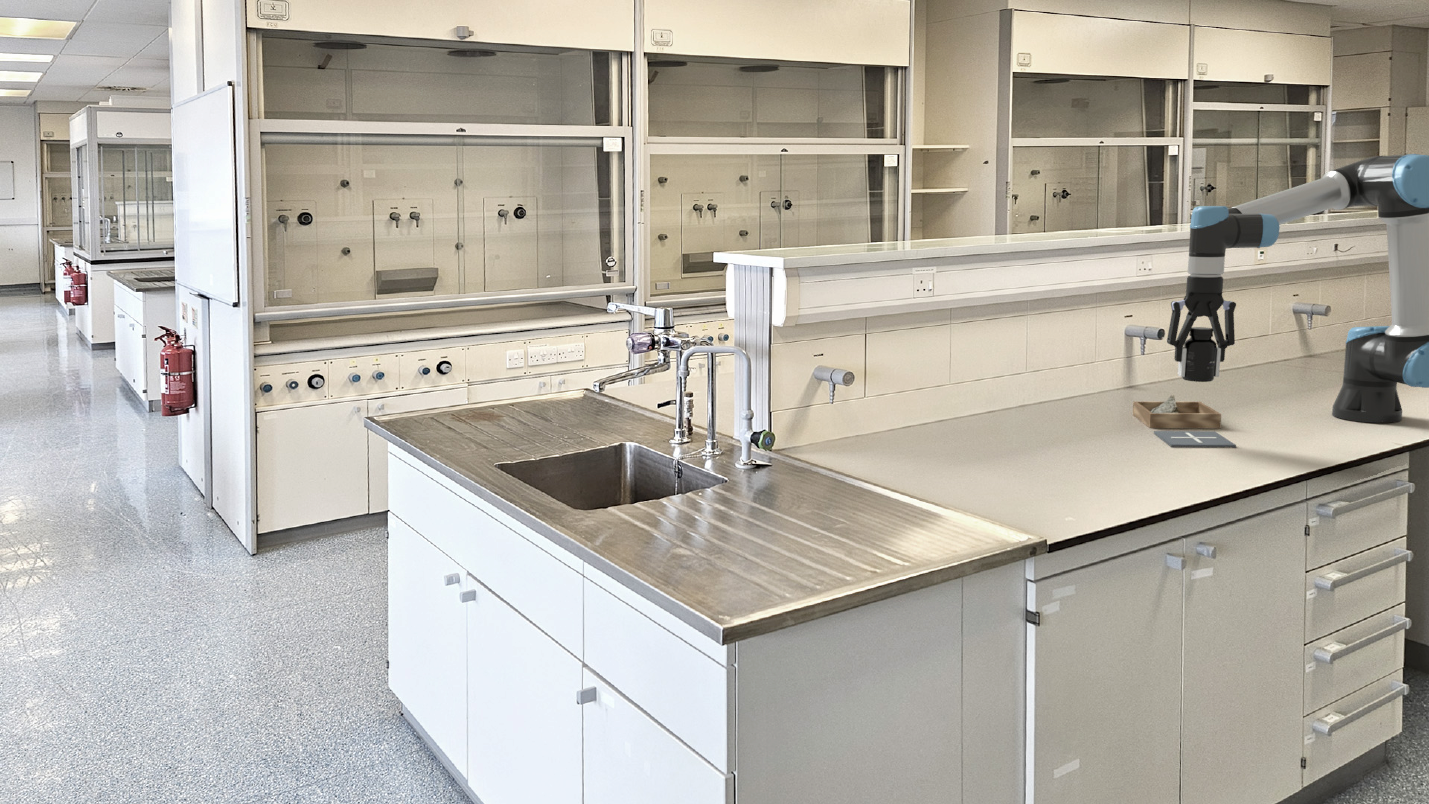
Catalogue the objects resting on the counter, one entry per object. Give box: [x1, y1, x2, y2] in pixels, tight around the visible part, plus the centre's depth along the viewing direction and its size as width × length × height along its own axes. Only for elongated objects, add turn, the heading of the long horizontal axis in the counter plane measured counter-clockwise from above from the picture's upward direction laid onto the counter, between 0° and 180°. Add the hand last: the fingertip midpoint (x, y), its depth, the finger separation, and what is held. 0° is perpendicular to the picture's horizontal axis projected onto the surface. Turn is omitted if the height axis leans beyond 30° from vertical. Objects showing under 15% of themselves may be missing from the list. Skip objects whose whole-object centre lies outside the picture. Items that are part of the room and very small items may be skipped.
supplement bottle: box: [1181, 326, 1218, 383], centre depth 251 cm, size 7×7×12 cm
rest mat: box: [1153, 430, 1237, 449], centre depth 255 cm, size 14×14×1 cm
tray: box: [1132, 401, 1222, 429], centre depth 275 cm, size 17×16×4 cm
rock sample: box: [1150, 394, 1179, 413], centre depth 277 cm, size 10×8×9 cm
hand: (1198, 375), depth 252 cm, fingers closed on supplement bottle, 7 cm apart
